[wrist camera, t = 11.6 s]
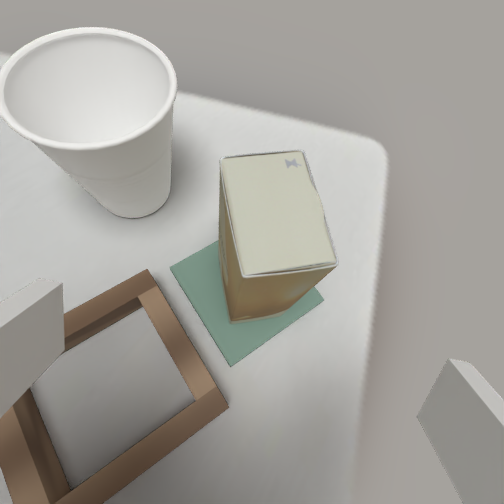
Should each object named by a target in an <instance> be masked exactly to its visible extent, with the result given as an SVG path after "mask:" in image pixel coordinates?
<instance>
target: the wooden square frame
mask: <svg viewBox="0 0 504 504" xmlns="http://www.w3.org/2000/svg"><path fill="white" fill-rule="evenodd" d="M141 307H144V309H145V311H146V312H147V314H148V316H149V318H150V319H151V321H152V323H153V325H154V327H155V328H156V330H157V332H158V334H159V335H160V337H161V339H162V341H163V343H164V344H165V346H166V348H167V350H168V352H169V353H170V355H171V357H172V359H173V360H174V362H175V364H176V366H177V368H178V369H179V371H180V373H181V375H182V376H183V378H184V380H185V382H186V384H187V385H188V387H189V389H190V391H191V392H192V394H193V396H194V398H195V400H196V401H195V402H193V403H192V404H191V405H189V406H188V407H187V408H185V409H184V410H182V411H181V412H180V413H178V414H177V415H175V416H174V417H173V418H171V419H170V420H169V421H167V422H166V423H164V424H163V425H162V426H160V427H159V428H158V429H156V430H155V431H153V432H152V433H151V434H149V435H148V436H146V437H145V438H144V439H142V440H141V441H140V442H138V443H137V444H135V445H134V446H133V447H131V448H130V449H128V450H127V451H126V452H124V453H123V454H122V455H120V456H119V457H117V458H116V459H115V460H113V461H112V462H111V463H109V464H108V465H106V466H105V467H104V468H102V469H101V470H99V471H98V472H97V473H95V474H94V475H93V476H91V477H90V478H88V479H87V480H86V481H84V482H83V483H81V484H80V485H79V486H77V487H76V488H75V489H73V490H72V491H71V490H70V488H69V485H68V483H67V480H66V478H65V475H64V473H63V470H62V468H61V465H60V463H59V460H58V458H57V455H56V453H55V450H54V448H53V445H52V443H51V440H50V438H49V435H48V433H47V430H46V428H45V426H44V423H43V421H42V418H41V416H40V413H39V411H38V408H37V406H36V403H35V401H34V398H33V396H32V393H31V391H30V388H28V389H27V391H26V392H25V393H24V394H23V395H22V396H21V397H20V398H19V399H18V400H17V401H16V402H15V403H14V404H13V405H12V407H11V408H10V409H9V410H8V411H7V412H6V413H5V414H4V415H3V416H2V417H1V418H0V467H1V470H2V473H3V475H4V478H5V481H6V484H7V487H8V490H9V493H10V496H11V498H12V501H13V504H103V503H104V502H105V501H107V500H108V499H109V498H110V497H112V496H113V495H114V494H116V493H117V492H118V491H120V490H121V489H122V488H124V487H125V486H126V485H128V484H129V483H130V482H132V481H133V480H134V479H135V478H137V477H138V476H139V475H141V474H142V473H143V472H145V471H146V470H147V469H149V468H150V467H151V466H153V465H154V464H155V463H157V462H158V461H159V460H161V459H162V458H163V457H164V456H166V455H167V454H168V453H170V452H171V451H172V450H174V449H175V448H176V447H178V446H179V445H180V444H182V443H183V442H184V441H186V440H187V439H188V438H189V437H191V436H192V435H193V434H195V433H196V432H197V431H199V430H200V429H201V428H203V427H204V426H205V425H207V424H208V423H209V422H211V421H212V420H213V419H215V418H216V417H217V416H218V415H220V414H221V413H222V412H224V411H225V410H226V409H228V408H229V406H228V404H227V402H226V401H225V399H224V397H223V395H222V394H221V392H220V390H219V389H218V387H217V385H216V384H215V382H214V380H213V379H212V377H211V375H210V373H209V372H208V370H207V368H206V367H205V365H204V363H203V362H202V360H201V358H200V357H199V355H198V353H197V351H196V350H195V348H194V346H193V345H192V343H191V341H190V340H189V338H188V336H187V335H186V333H185V331H184V329H183V328H182V326H181V324H180V323H179V321H178V319H177V318H176V316H175V314H174V312H173V311H172V309H171V307H170V306H169V304H168V302H167V301H166V299H165V297H164V296H163V294H162V292H161V290H160V289H159V287H158V285H157V284H156V282H155V280H154V279H153V277H152V275H151V274H150V272H149V271H148V269H146V270H144V271H142V272H140V273H139V274H137V275H135V276H133V277H131V278H129V279H128V280H126V281H124V282H122V283H120V284H118V285H117V286H115V287H113V288H111V289H109V290H107V291H106V292H104V293H102V294H100V295H98V296H96V297H95V298H93V299H91V300H89V301H87V302H85V303H84V304H82V305H80V306H78V307H76V308H74V309H73V310H71V311H69V312H67V313H65V314H64V344H65V350H64V351H63V352H62V353H64V352H65V351H67V350H69V349H71V348H72V347H74V346H76V345H77V344H79V343H81V342H83V341H84V340H86V339H88V338H89V337H91V336H93V335H95V334H96V333H98V332H100V331H101V330H103V329H105V328H107V327H108V326H110V325H112V324H113V323H115V322H117V321H119V320H120V319H122V318H124V317H125V316H127V315H129V314H131V313H132V312H134V311H136V310H138V309H139V308H141ZM62 353H61V354H62Z"/></svg>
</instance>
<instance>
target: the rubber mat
mask: <svg viewBox="0 0 504 504" xmlns="http://www.w3.org/2000/svg"><path fill="white" fill-rule="evenodd" d="M218 241H219V240H218ZM218 241H216V242H214V243H213V244H211V245H209V246H207V247H205V248H204V249H202V250H200V251H198V252H197V253H195V254H193V255H191V256H189V257H188V258H186V259H184V260H182V261H180V262H179V263H177V264H175V265H173V266H171V267H170V269H171V271H172V273H173V274H174V276H175V278H176V279H177V281H178V283H179V284H180V286H181V287H182V289H183V291H184V292H185V294H186V296H187V297H188V299H189V300H190V302H191V304H192V305H193V307H194V309H195V310H196V312H197V313H198V315H199V317H200V318H201V320H202V322H203V323H204V325H205V326H206V328H207V330H208V331H209V333H210V335H211V336H212V338H213V339H214V341H215V343H216V344H217V346H218V348H219V349H220V351H221V352H222V354H223V356H224V357H225V359H226V361H227V362H228V364H229V365H230V367H231V366H233V365H234V364H235V363H237V362H238V361H240V360H241V359H242V358H244V357H245V356H247V355H248V354H249V353H251V352H252V351H254V350H255V349H256V348H258V347H259V346H261V345H262V344H263V343H265V342H266V341H268V340H269V339H270V338H272V337H273V336H275V335H276V334H277V333H279V332H280V331H282V330H283V329H284V328H286V327H287V326H289V325H290V324H291V323H293V322H294V321H296V320H297V319H298V318H300V317H301V316H303V315H304V314H306V313H307V312H308V311H310V310H311V309H313V308H314V307H315V306H317V305H318V304H320V303H321V302H322V301H324V299H323V297H322V296H321V295H320V294H319V292H318V291H317V290H316V288H315V287H313V288H312V289H310V290H309V291H308V292H307V293H306V294H305V295H304V296H303V297H301V298H300V299H299V300H298V301H297V302H296V303H295V304H294V305H292V306H291V307H290V308H289V309H288V310H287V311H286V312H285V313H284V314H282V315H281V316H279V317H274V318H269V319H263V320H257V321H251V322H244V323H237V324H230V323H229V318H228V313H227V308H226V303H225V298H224V293H223V287H222V280H221V274H220V266H219V257H218Z"/></svg>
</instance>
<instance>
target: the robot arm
mask: <svg viewBox="0 0 504 504" xmlns="http://www.w3.org/2000/svg"><path fill="white" fill-rule="evenodd" d="M64 350H65V344H64V313H63V283H61V282H56V281H51V280H46V279H41V278H39V279H37V280H35V281H34V282H32V283H31V284H29V285H27V286H26V287H24V288H23V289H21V290H19V291H18V292H16V293H15V294H13V295H12V296H10V297H8V298H7V299H5V300H4V301H2V302H0V418H1V417H2V416H3V415H4V414H5V413H6V412H7V411H8V410H9V409H10V408H11V407H12V405H13V404H14V403H15V402H16V401H17V400H18V399H19V398H20V397H21V396H22V395H23V394H24V393H25V392H26V391H27V389H28V388H29V387H30V386H31V385H32V384H33V383H34V382H35V381H36V380H37V379H38V378H39V377H40V376H41V375H42V374H43V372H44V371H45V370H46V369H47V368H48V367H49V366H50V365H51V364H52V363H53V362H54V361H55V360H56V359H57V358H58V357H59V355H60V354H61V353H62V352H63V351H64ZM417 418H418V420H419V422H420V424H421V426H422V428H423V429H424V431H425V433H426V435H427V437H428V439H429V441H430V443H431V444H432V446H433V448H434V450H435V452H436V454H437V456H438V458H439V459H440V461H441V463H442V465H443V467H444V469H445V471H446V473H447V475H448V476H449V478H450V480H451V482H452V484H453V486H454V488H455V489H456V491H457V493H458V495H459V497H460V499H461V501H462V503H463V504H504V400H503V399H502V398H501V397H500V396H499V394H498V393H497V392H496V391H495V390H494V389H493V388H492V387H491V386H490V384H489V383H488V382H487V381H486V380H485V379H484V378H483V377H482V375H480V373H479V372H478V371H477V370H476V369H475V368H474V367H473V365H472V364H471V363H469V362H465V361H460V360H454V359H448V360H447V362H446V364H445V365H444V367H443V369H442V371H441V373H440V374H439V377H438V378H437V380H436V382H435V384H434V385H433V387H432V389H431V391H430V393H429V395H428V397H427V398H426V400H425V402H424V404H423V406H422V408H421V410H420V411H419V413H418V415H417Z"/></svg>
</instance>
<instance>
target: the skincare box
mask: <svg viewBox="0 0 504 504" xmlns="http://www.w3.org/2000/svg"><path fill="white" fill-rule="evenodd" d="M218 257H219V266H220V274H221V280H222V287H223V293H224V298H225V303H226V308H227V313H228V318H229V323H230V324H237V323H244V322H251V321H257V320H263V319H269V318H274V317H279V316H281V315H282V314H284V313H285V312H286V311H287V310H288V309H289V308H290V307H291V306H292V305H294V304H295V303H296V302H297V301H298V300H299V299H300V298H301V297H303V296H304V295H305V294H306V293H307V292H308V291H309V290H310V289H312V288H313V287H314V286H315V285H316V284H317V283H318V282H319V281H321V280H322V279H323V278H324V277H325V276H326V275H327V274H328V273H330V272H331V271H332V270H333V269H334V268H335V267H336V266H337V265H338V263H339V259H338V256H337V253H336V250H335V247H334V243H333V240H332V237H331V234H330V230H329V227H328V224H327V221H326V217H325V214H324V210H323V206H322V203H321V200H320V197H319V195H318V192H317V189H316V186H315V183H314V180H313V176H312V174H311V170H310V167H309V164H308V161H307V158H306V154H305V152H304V150H292V151H277V152H264V153H252V154H242V155H235V156H225V157H221V158H220V197H219V241H218Z"/></svg>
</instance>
